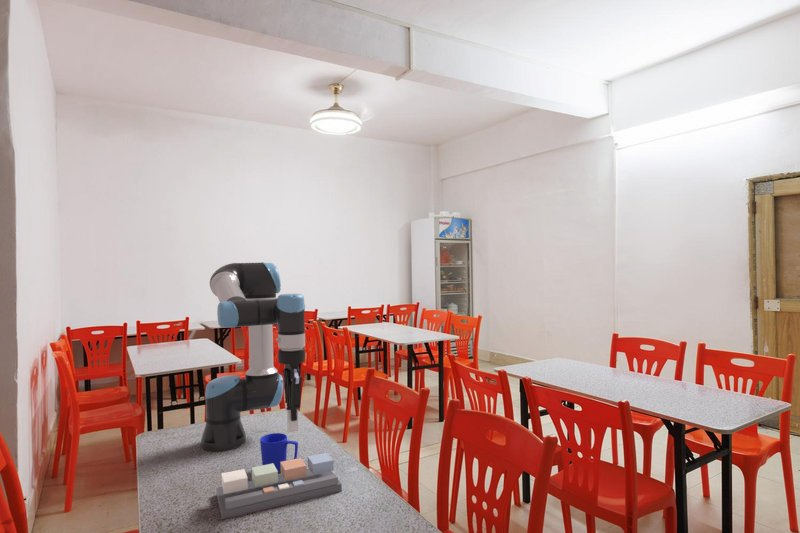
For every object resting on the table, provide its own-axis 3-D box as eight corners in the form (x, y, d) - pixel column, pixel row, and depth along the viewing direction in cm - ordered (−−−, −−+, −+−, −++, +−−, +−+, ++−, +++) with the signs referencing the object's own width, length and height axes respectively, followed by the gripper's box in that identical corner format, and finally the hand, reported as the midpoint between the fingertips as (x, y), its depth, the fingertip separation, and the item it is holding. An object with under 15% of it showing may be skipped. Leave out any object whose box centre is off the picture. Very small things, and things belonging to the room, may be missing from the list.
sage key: (251, 478, 134) (251, 467, 134) (273, 473, 136) (273, 463, 136) (255, 487, 128) (255, 476, 128) (277, 482, 131) (277, 471, 131)
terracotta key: (280, 472, 137) (280, 461, 137) (301, 467, 140) (300, 457, 140) (285, 480, 132) (285, 470, 132) (306, 476, 134) (306, 465, 134)
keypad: (216, 495, 133) (216, 479, 133) (326, 471, 147) (326, 457, 147) (221, 519, 121) (221, 502, 121) (341, 490, 135) (341, 475, 135)
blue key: (307, 466, 141) (307, 456, 141) (327, 462, 143) (327, 452, 143) (313, 474, 135) (313, 464, 135) (333, 470, 138) (333, 460, 138)
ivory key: (221, 484, 130) (221, 473, 130) (244, 479, 133) (244, 468, 133) (224, 494, 125) (223, 482, 125) (247, 488, 127) (247, 477, 127)
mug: (292, 477, 144) (291, 444, 143) (255, 474, 146) (255, 441, 146) (303, 465, 152) (302, 434, 152) (268, 462, 154) (267, 432, 154)
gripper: (273, 345, 139) (274, 426, 140) (283, 353, 128) (284, 440, 128) (298, 343, 143) (300, 422, 143) (310, 350, 131) (312, 436, 131)
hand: (292, 430), depth 135 cm, fingers closed
